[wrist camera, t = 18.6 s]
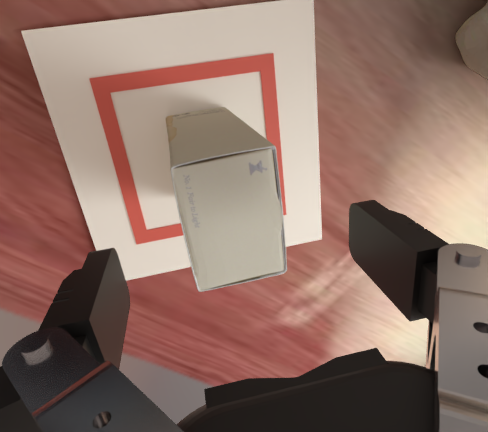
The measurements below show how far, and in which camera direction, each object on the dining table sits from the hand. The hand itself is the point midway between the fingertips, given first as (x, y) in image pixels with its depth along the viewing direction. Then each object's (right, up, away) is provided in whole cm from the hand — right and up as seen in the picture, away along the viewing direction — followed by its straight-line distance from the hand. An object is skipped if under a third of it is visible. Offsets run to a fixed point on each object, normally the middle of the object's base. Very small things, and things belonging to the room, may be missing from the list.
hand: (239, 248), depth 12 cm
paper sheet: (-3, +6, +14) cm, 15 cm away
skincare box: (-3, +6, +14) cm, 15 cm away
